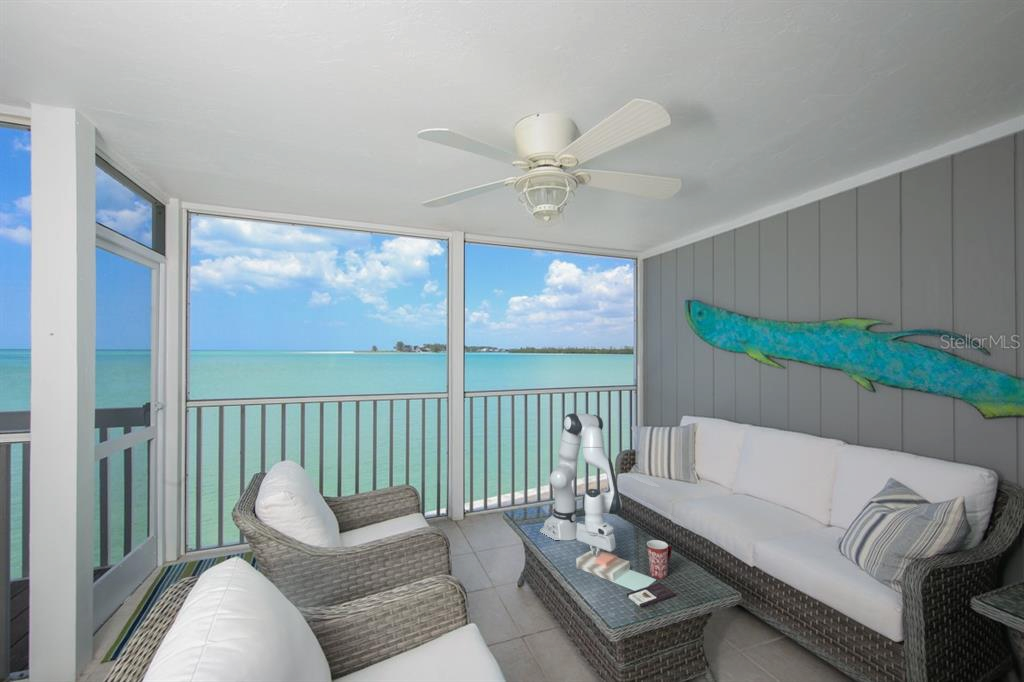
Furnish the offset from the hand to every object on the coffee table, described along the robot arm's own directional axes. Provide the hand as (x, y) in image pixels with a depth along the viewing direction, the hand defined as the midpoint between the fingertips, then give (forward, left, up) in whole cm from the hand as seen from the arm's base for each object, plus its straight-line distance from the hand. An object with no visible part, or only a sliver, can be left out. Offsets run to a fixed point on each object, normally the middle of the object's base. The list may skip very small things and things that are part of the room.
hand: (595, 554), depth 206 cm
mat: (+20, 0, -5) cm, 20 cm away
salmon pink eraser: (+6, 0, -1) cm, 6 cm away
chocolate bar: (+31, -6, -5) cm, 32 cm away
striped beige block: (+4, 0, -5) cm, 6 cm away
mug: (+26, +14, -5) cm, 30 cm away
